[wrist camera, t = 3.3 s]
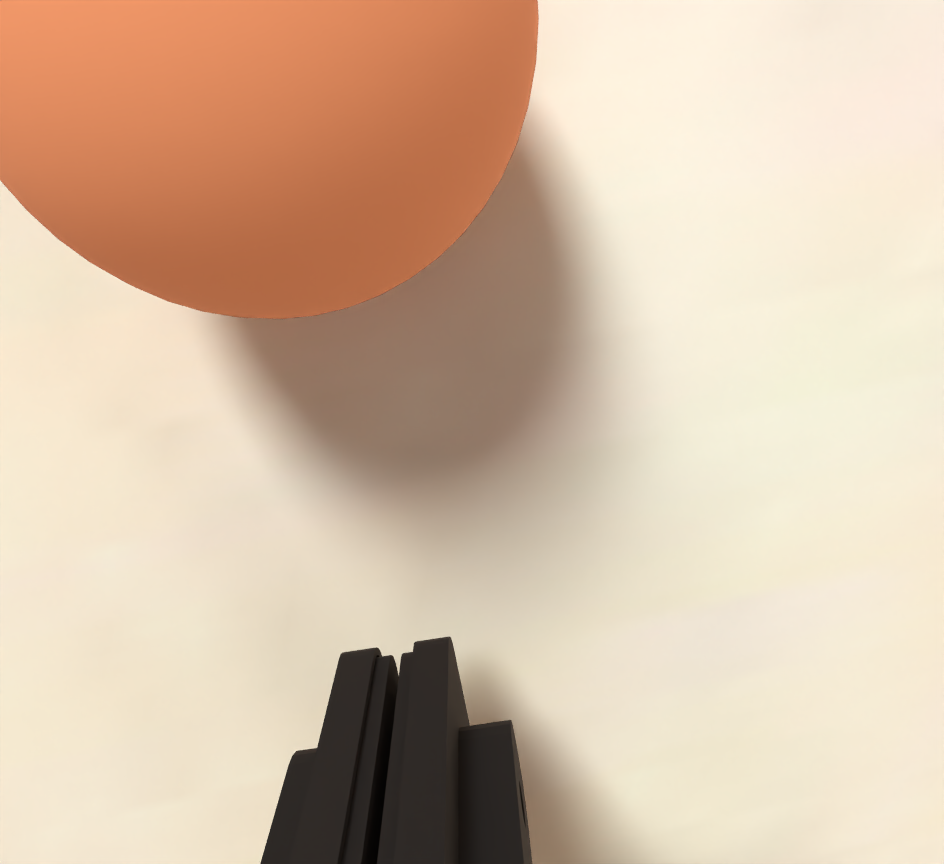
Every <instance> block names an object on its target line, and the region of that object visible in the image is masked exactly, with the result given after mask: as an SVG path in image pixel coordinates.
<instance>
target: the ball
mask: <svg viewBox="0 0 944 864" xmlns="http://www.w3.org/2000/svg"><path fill="white" fill-rule="evenodd" d="M538 19H539V18H538V1H537V0H0V180H1V182H2V183H3V184H4V185H5V186H6V187H7V188H8V190H9V191H10V192H11V193H12V194H13V195H14V196H15V197H16V199H17V200H18V201H19V202H20V203H21V204H22V205H23V206H24V208H25V209H26V210H27V211H28V212H29V213H30V214H31V215H33V216H34V217H35V218H36V219H37V220H38V221H39V222H40V223H41V224H42V225H43V226H45V227H46V228H47V229H48V230H49V231H50V232H51V233H52V234H53V235H54V236H55V237H57V238H58V239H59V240H60V241H62V242H63V243H64V244H66V245H67V246H69V247H70V248H71V249H73V250H74V251H75V252H77V253H78V254H79V255H81V256H82V257H84V258H85V259H86V260H88V261H89V262H91V263H92V264H94V265H96V266H98V267H99V268H101V269H103V270H105V271H106V272H108V273H110V274H112V275H113V276H115V277H117V278H119V279H120V280H122V281H124V282H126V283H128V284H130V285H132V286H134V287H136V288H138V289H141V290H143V291H145V292H148V293H150V294H152V295H155V296H157V297H159V298H162V299H164V300H166V301H169V302H172V303H176V304H179V305H182V306H186V307H189V308H193V309H196V310H200V311H203V312H209V313H215V314H222V315H228V316H234V317H243V318H269V319H286V318H296V317H306V316H315V315H320V314H324V313H328V312H332V311H337V310H341V309H345V308H349V307H351V306H354V305H356V304H359V303H362V302H364V301H367V300H369V299H372V298H375V297H377V296H379V295H381V294H383V293H385V292H387V291H389V290H390V289H392V288H394V287H396V286H398V285H399V284H401V283H403V282H405V281H407V280H408V279H410V278H412V277H413V276H414V275H416V274H417V273H418V272H420V271H421V270H422V269H424V268H425V267H427V266H428V265H429V264H431V263H432V262H433V261H435V260H436V259H437V258H439V257H440V256H441V255H442V254H443V253H444V252H445V251H446V250H447V249H448V248H449V247H450V246H451V245H452V244H453V243H454V242H455V241H456V240H457V239H458V238H459V237H460V236H461V235H462V234H463V233H464V232H465V230H466V229H467V228H468V227H469V225H470V224H471V223H472V222H473V220H474V219H475V218H476V217H477V215H478V214H479V213H480V211H481V210H482V209H483V208H484V206H485V204H486V203H487V201H488V199H489V198H490V196H491V194H492V193H493V191H494V189H495V188H496V186H497V184H498V183H499V181H500V179H501V178H502V176H503V174H504V171H505V169H506V167H507V165H508V162H509V160H510V158H511V156H512V153H513V151H514V149H515V147H516V144H517V142H518V138H519V135H520V132H521V128H522V125H523V122H524V119H525V115H526V112H527V109H528V105H529V99H530V93H531V88H532V82H533V76H534V71H535V65H536V54H537V36H538Z"/></svg>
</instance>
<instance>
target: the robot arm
mask: <svg viewBox="0 0 944 864" xmlns="http://www.w3.org/2000/svg"><path fill="white" fill-rule="evenodd" d="M261 864H532V857H531V847H530V838H529V829H528V820H527V812H526V804H525V796H524V789H523V782H522V776H521V769H520V763H519V758H518V752H517V746H516V741H515V735H514V730H513V725H512V721H511V720H507V721H500V722H493V723H487V724H480V725H473V726H470V725H469V720H468V715H467V710H466V705H465V701H464V696H463V691H462V686H461V681H460V676H459V671H458V667H457V662H456V657H455V652H454V647H453V643H452V640H451V637H444V638H437V639H430V640H424V641H417V642H415V643H414V648H413V652H409V653H403V654H402V656H401V663H400V672H399V675H398V671H397V667H396V663H395V660H394V657H393V656H392V655H389V656H383V657H382V655H381V652H380V650H379V648H370V649H364V650H357V651H350V652H344V653H342V654H341V655H340V658H339V661H338V666H337V670H336V674H335V678H334V682H333V686H332V690H331V694H330V698H329V702H328V706H327V710H326V714H325V718H324V723H323V727H322V731H321V735H320V739H319V743H318V747H317V748H314V749H307V750H301V751H296V752H295V753H294V755H293V756H292V758H291V761H290V763H289V766H288V769H287V773H286V776H285V780H284V783H283V787H282V790H281V794H280V797H279V801H278V804H277V808H276V811H275V815H274V818H273V822H272V825H271V829H270V832H269V836H268V839H267V843H266V846H265V850H264V853H263V857H262V860H261Z"/></svg>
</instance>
